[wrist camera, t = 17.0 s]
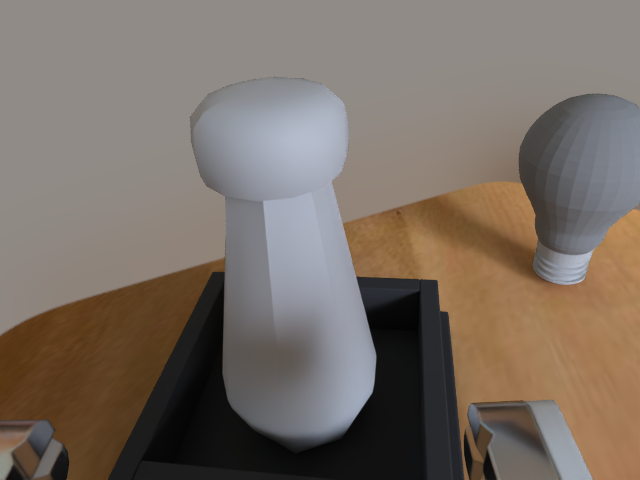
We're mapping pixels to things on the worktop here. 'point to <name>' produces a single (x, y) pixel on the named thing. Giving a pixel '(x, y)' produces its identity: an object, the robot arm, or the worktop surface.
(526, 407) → the robot arm
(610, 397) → the worktop surface
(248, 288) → the salt shaker
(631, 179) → the light bulb
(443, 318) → the pad
